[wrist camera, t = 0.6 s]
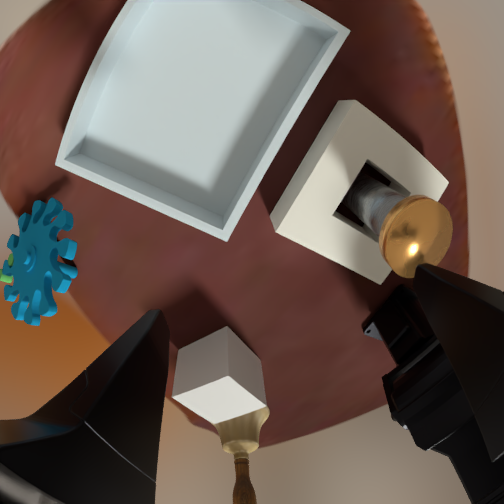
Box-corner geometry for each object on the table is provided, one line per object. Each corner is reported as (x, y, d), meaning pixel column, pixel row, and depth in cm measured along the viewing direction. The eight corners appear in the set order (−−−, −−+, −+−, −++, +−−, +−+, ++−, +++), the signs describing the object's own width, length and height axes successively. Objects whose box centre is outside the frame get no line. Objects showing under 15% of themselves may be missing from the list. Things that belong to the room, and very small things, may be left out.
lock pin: (390, 181, 21) (463, 226, 13) (361, 226, 22) (420, 288, 14) (350, 152, 19) (420, 184, 12) (320, 201, 21) (371, 259, 13)
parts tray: (334, 40, 15) (350, 30, 13) (226, 224, 21) (226, 241, 19) (172, -31, 12) (164, -48, 9) (75, 156, 18) (55, 164, 15)
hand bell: (281, 414, 34) (299, 520, 20) (232, 432, 36) (238, 529, 22) (245, 389, 31) (257, 517, 17) (192, 410, 33) (189, 522, 19)
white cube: (227, 324, 26) (228, 375, 21) (260, 358, 29) (267, 406, 23) (178, 349, 27) (171, 397, 22) (214, 379, 30) (213, 424, 24)
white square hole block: (427, 172, 20) (448, 182, 18) (366, 266, 24) (380, 284, 22) (338, 100, 18) (355, 99, 15) (269, 215, 21) (275, 232, 19)
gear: (71, 176, 17) (60, 322, 14) (117, 207, 23) (116, 327, 20) (0, 216, 19) (-10, 324, 16) (41, 234, 24) (37, 330, 22)
